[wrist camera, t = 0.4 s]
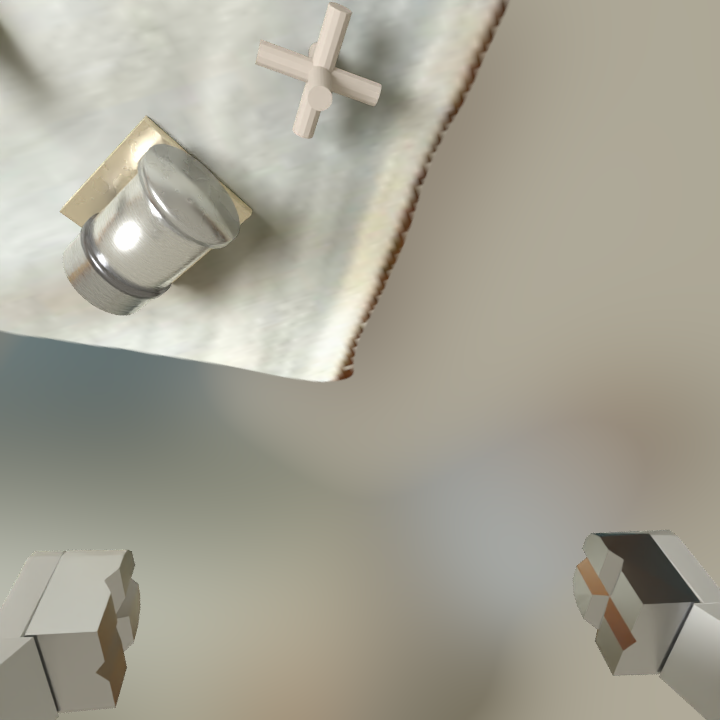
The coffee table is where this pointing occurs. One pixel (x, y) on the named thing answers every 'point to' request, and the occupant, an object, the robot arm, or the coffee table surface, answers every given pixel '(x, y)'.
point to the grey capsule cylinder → (145, 221)
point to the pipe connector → (319, 71)
